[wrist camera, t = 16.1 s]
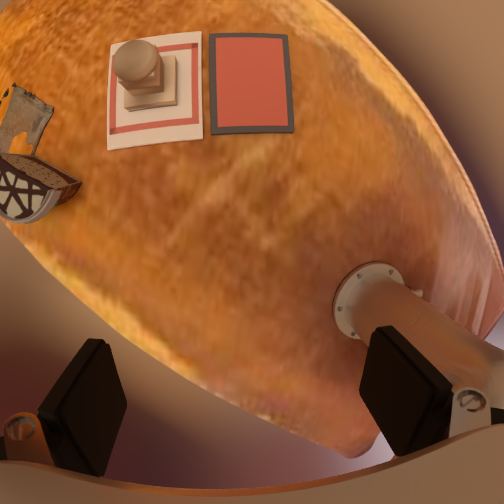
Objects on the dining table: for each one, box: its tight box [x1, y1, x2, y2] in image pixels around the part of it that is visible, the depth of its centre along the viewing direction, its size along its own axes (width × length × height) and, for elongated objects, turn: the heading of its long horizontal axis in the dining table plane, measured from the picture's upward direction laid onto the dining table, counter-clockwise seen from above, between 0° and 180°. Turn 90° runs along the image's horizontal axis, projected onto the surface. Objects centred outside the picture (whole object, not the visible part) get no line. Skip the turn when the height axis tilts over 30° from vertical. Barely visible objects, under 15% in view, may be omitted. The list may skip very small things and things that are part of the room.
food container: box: [0, 153, 82, 224], centre depth 27 cm, size 12×6×10 cm, turn 60°
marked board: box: [107, 31, 203, 151], centre depth 30 cm, size 12×15×1 cm
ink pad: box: [209, 33, 294, 135], centre depth 31 cm, size 10×14×1 cm
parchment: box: [0, 83, 54, 156], centre depth 28 cm, size 12×13×1 cm
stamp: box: [112, 40, 177, 112], centre depth 24 cm, size 6×6×11 cm
